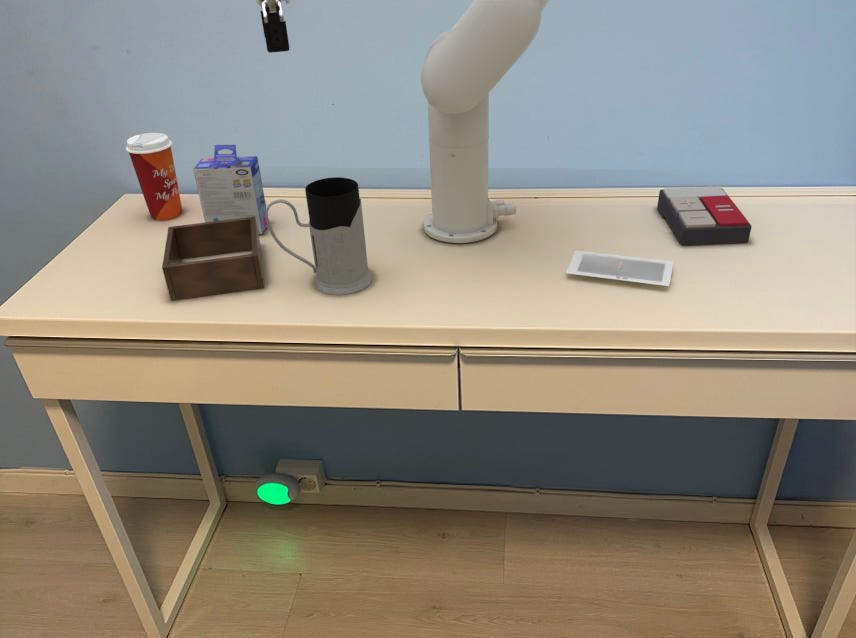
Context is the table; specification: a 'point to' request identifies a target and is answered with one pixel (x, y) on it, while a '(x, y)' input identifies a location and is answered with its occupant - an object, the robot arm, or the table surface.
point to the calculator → (703, 216)
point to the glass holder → (334, 235)
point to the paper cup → (156, 174)
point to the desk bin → (212, 272)
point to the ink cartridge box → (231, 187)
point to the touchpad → (621, 268)
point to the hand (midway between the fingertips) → (276, 44)
